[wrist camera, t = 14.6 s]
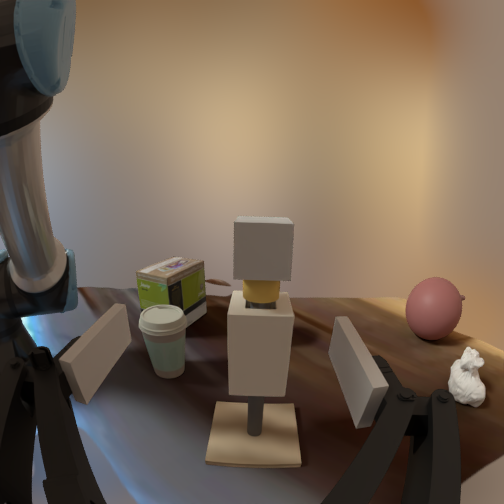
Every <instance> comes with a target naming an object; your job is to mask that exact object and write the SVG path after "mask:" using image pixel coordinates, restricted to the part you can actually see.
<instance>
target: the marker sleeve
mask: <svg viewBox="0 0 504 504" xmlns="http://www.w3.org/2000/svg"><path fill="white" fill-rule="evenodd" d="M250 306H251V302H250V301H247V300H246V299H244V298H243V291H233V294H232V298H231V302H230V306H229V310H228V314H227V331H228V379H229V395H242V396H285V390H286V383H287V375H288V367H289V359H290V350H291V341H292V332H293V322H294V314H293V311H292V307H291V303H290V299H289V295H288V292H279V299H278V300H276V301H274V302H271V306H270V309H250Z"/></svg>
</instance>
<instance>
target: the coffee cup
mask: <svg viewBox="0 0 504 504" xmlns="http://www.w3.org/2000/svg"><path fill="white" fill-rule="evenodd" d="M186 326H187V319H186V316H185V315H184V313H183V310H182V309H180V308H179V307H177V306H173V305H156V306H151V307H149V308H146V309H145V310H143V311H142V313H141V316H140V320H139V328H140V329H141V331H142V333H143V337H144V340H145V343H146V346H147V350H148V353H149V356H150V359H151V362H152V365H153V368H154V370H155V373H156V374H157V375H158V376H160V377H162V378H175V377H178V376H180V375H181V374H182V373H183V372H184V370H185V333H186Z"/></svg>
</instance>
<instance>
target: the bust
mask: <svg viewBox="0 0 504 504" xmlns="http://www.w3.org/2000/svg"><path fill="white" fill-rule="evenodd" d="M483 364H484V360H483V358H479V352H477V351H476V350H475V349H474V350H472V349H471V348H470V347H467V348H466V350H464V353H463V355H462V357H461V359H459V360H456V361H455V362H454V364H453V365H452V366H451V375H450V380H449V381H448V385H449V392H451V393H452V394H453V396H454V398H455V401H457V402H460V403H462V404H470V405H471V406H474V407H478V406H480V405H481V404H482V403H483V401H484V399H485V385H484V384H483V383H482V382H481V380H480V379H479V374H478V369H479V367H480V366H481V367H482V366H483Z"/></svg>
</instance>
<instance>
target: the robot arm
mask: <svg viewBox="0 0 504 504" xmlns="http://www.w3.org/2000/svg"><path fill="white" fill-rule="evenodd" d="M75 19H76V2H75V0H0V235H1V238H2V240H3V242H4V245H5V247H6V249H7V251H6V250H5V249H3V250H0V504H32V465H33V452H34V441H35V434H36V427H37V429H38V436H39V442H40V448H41V453H42V458H43V463H44V468H45V472H46V477H47V479H46V480H43V487H44V491H45V494H46V498H47V502H48V504H106V502H105V500H104V498H103V496H102V493H101V491H100V489H99V487H98V484H97V482H96V480H95V477H94V475H93V472H92V470H91V467H90V464H89V462H88V459H87V456H86V453H85V450H84V447H83V444H82V441H81V438H80V435H79V431H78V428H77V424H76V420H75V416H74V412H73V408H72V404H71V401H70V399H69V396H70V395H71V394H73V396H74V398H75V400H76V401H78V402H81V403H83V404H86V405H87V404H88V403H89V401H90V400H91V398H92V397H93V395H94V394H95V392H96V391H97V389H98V388H99V386H100V385H101V383H102V382H103V381H104V379H105V378H106V376H107V375H108V373H109V372H110V370H111V369H112V368H113V366H114V365H115V363H116V362H117V361H118V359H119V358H120V356H121V355H122V354H123V352H124V351H125V349H126V348H127V347H128V345H129V344H130V342H131V341H132V340H131V335H130V329H129V324H128V318H127V311H126V305H124V304H116V303H115V304H114V305H113V306H112V307H111V308H110V309H109V310H108V311H107V312H106V313H105V314H104V315H103V316H102V317H101V318H100V319H99V320H98V321H97V322H95V323H94V324H93V325H92V326H91V327H90V328H89V329H88V330H87V331H86V332H85V333H84V334H83V335H82V336H78V337H76V338H74V339H72V340H71V341H70V342H69V343H68V344H67V345H66V346H65V347H64V348H63V349H62V350H61V351H60V352H59V353H58V354H57V355H56V356H55V357H54V358H52V355H51V352H50V350H49V348H47V347H44V346H40V347H37V345H36V343H35V342H34V340H33V339H32V337H31V336H30V334H29V333H28V331H27V330H26V328H25V327H24V325H23V323H22V320H21V317H28V316H36V315H44V314H52V313H64V312H65V311H71V310H74V309H75V308H76V307H77V305H78V293H77V282H76V281H77V280H76V266H75V255H74V252H73V250H68V249H64V247H63V245H62V244H61V243H60V241H59V240H57V239H56V238H55V237H54V236H53V232H52V227H51V222H50V217H49V212H48V206H47V200H46V193H45V187H44V178H43V169H42V158H41V143H40V142H41V140H40V120H41V119H42V118H43V117H44V116H45V115H46V114H47V113H48V111H49V110H50V108H51V107H52V104H53V96H55V95H56V94H58V93H60V92H62V91H63V90H64V88H65V86H66V84H67V81H68V77H69V72H70V64H71V56H72V51H73V43H74V32H75ZM7 252H8V253H7ZM8 254H9V256H10V257H8ZM328 354H329V356H330V359H331V361H332V364H333V367H334V369H335V372H336V375H337V377H338V380H339V383H340V385H341V388H342V391H343V394H344V396H345V399H346V402H347V405H348V407H349V410H350V413H351V416H352V419H353V421H354V424H355V427H356V429H357V428H364V427H370V426H371V424H372V422H373V420H374V419H375V421H376V425H375V426H374V428H373V430H372V432H371V433H370V435H369V437H368V438H367V440H366V442H365V443H364V445H363V446H362V448H361V450H360V451H359V453H358V454H357V456H356V457H355V459H354V460H353V462H352V463H351V465H350V466H349V468H348V469H347V470H346V472H345V473H344V475H343V476H342V477H341V479H340V480H339V481H338V483H337V484H336V485H335V487H334V488H333V489H332V491H331V492H330V493H329V494H328V496H327V497H326V498H325V499H324V500H323V502H322V503H321V504H368V503H369V501H370V500H371V498H372V496H373V495H374V493H375V491H376V490H377V488H378V486H379V484H380V483H381V481H382V479H383V477H384V475H385V474H386V472H387V470H388V468H389V466H390V464H391V462H392V460H393V458H394V456H395V454H396V452H397V449H398V447H399V445H400V443H401V441H402V438H403V436H411V438H410V449H409V458H408V466H407V473H406V479H405V485H404V491H403V496H402V501H401V504H460V494H461V454H460V439H459V428H458V419H457V411H456V404H455V398H454V396H453V394H452V393H451V392H449V391H447V390H444V389H438V390H435V391H434V392H433V393H432V395H431V397H418V396H417V395H416V393H415V392H414V391H413V390H411V389H409V388H404V387H403V386H402V385H401V383H400V382H399V380H398V378H397V377H396V375H395V374H394V372H393V371H392V369H391V367H390V366H389V364H388V363H387V361H386V360H385V359H383V358H382V357H381V356H379V355H378V356H371V354H370V353H369V351H368V349H367V348H366V346H365V344H364V343H363V341H362V339H361V338H360V336H359V334H358V333H357V331H356V330H355V328H354V326H353V325H352V323H351V321H350V320H349V318H348V317H336V318H335V324H334V329H333V334H332V339H331V344H330V348H329V353H328Z"/></svg>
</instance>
